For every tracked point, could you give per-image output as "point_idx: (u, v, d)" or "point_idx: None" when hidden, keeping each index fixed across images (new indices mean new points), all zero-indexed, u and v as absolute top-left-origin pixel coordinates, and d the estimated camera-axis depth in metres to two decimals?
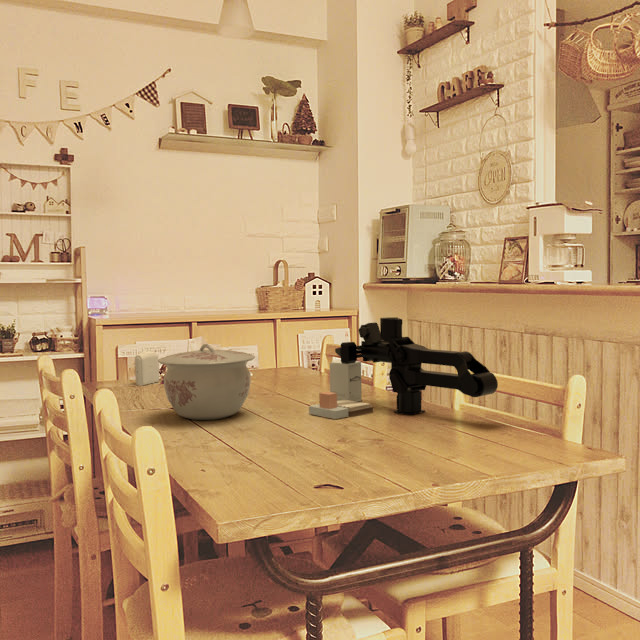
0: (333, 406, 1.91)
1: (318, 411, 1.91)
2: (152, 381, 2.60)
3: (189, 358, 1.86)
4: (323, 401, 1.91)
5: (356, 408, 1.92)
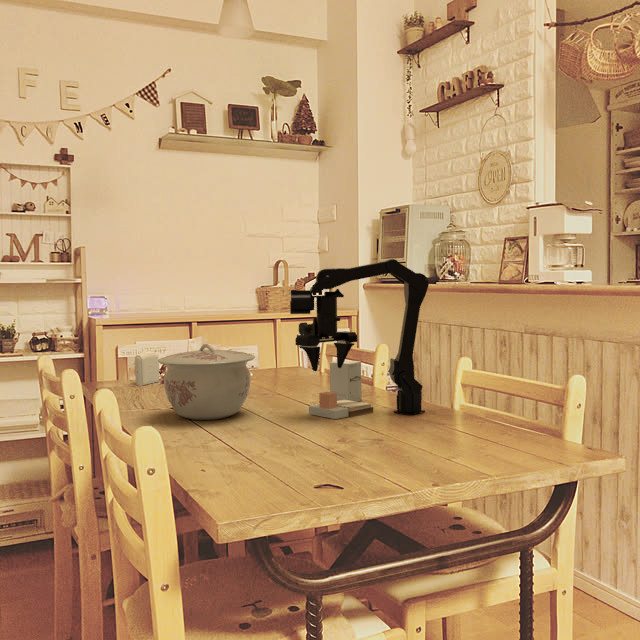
0: (333, 406, 1.91)
1: (318, 411, 1.91)
2: (152, 381, 2.60)
3: (189, 358, 1.86)
4: (323, 401, 1.91)
5: (356, 408, 1.92)
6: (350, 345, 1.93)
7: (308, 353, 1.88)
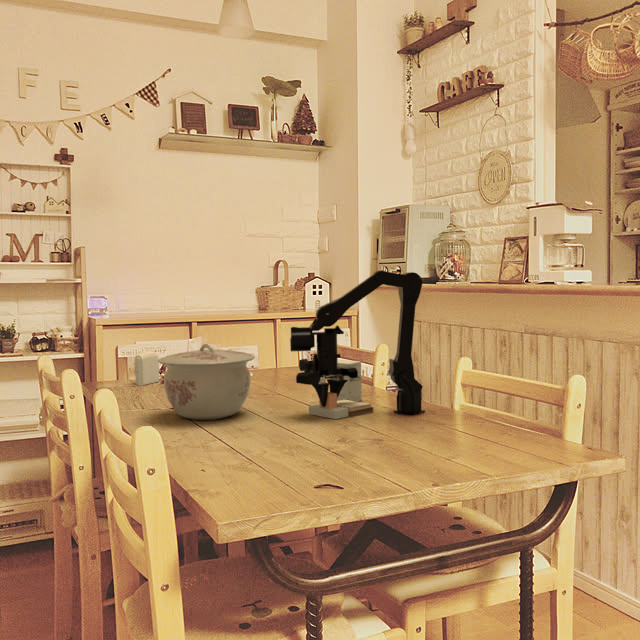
0: (333, 406, 1.91)
1: (318, 411, 1.91)
2: (152, 381, 2.60)
3: (189, 358, 1.86)
4: None
5: (356, 408, 1.92)
6: (343, 382, 1.92)
7: (317, 389, 1.90)
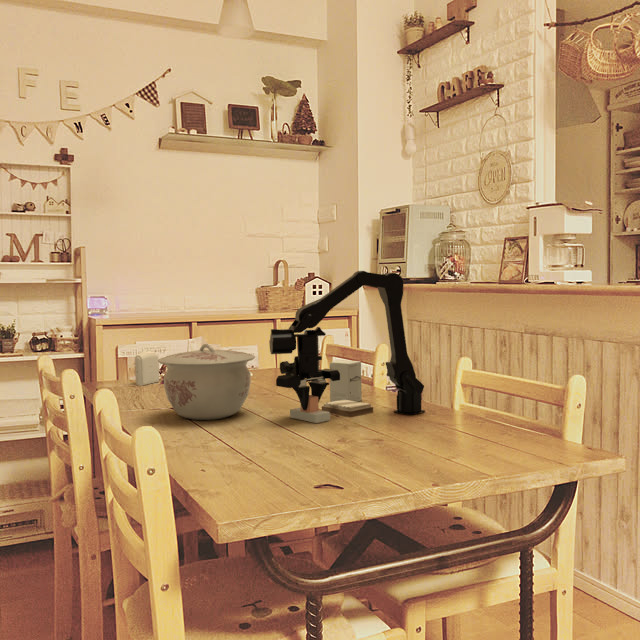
0: (314, 410, 1.86)
1: (300, 415, 1.87)
2: (152, 381, 2.60)
3: (189, 358, 1.86)
4: None
5: (356, 408, 1.92)
6: (325, 385, 1.87)
7: (298, 392, 1.86)
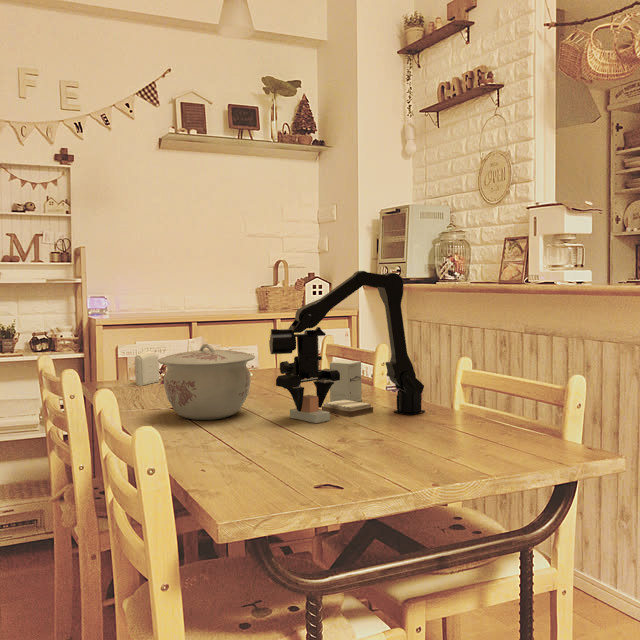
0: (314, 410, 1.86)
1: (299, 415, 1.87)
2: (152, 381, 2.60)
3: (189, 358, 1.86)
4: (304, 405, 1.86)
5: (356, 408, 1.92)
6: (330, 384, 1.88)
7: (292, 393, 1.84)
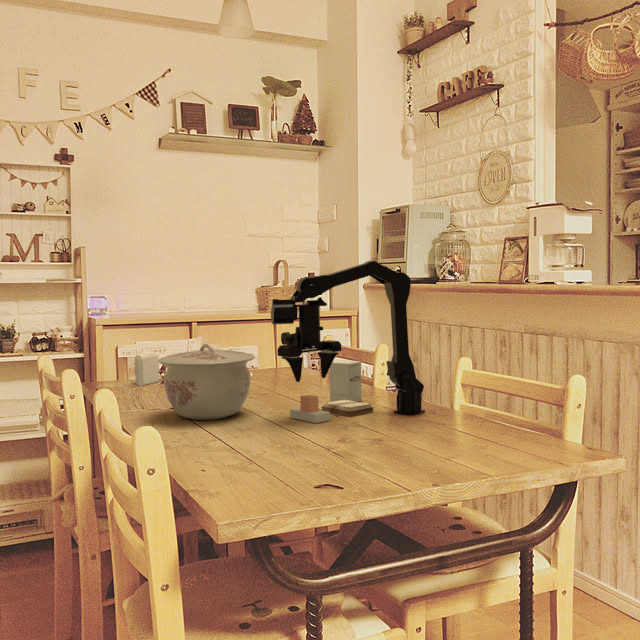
0: (314, 410, 1.86)
1: (299, 415, 1.87)
2: (152, 381, 2.60)
3: (189, 358, 1.86)
4: (304, 405, 1.86)
5: (356, 408, 1.92)
6: (334, 354, 1.89)
7: (291, 364, 1.84)
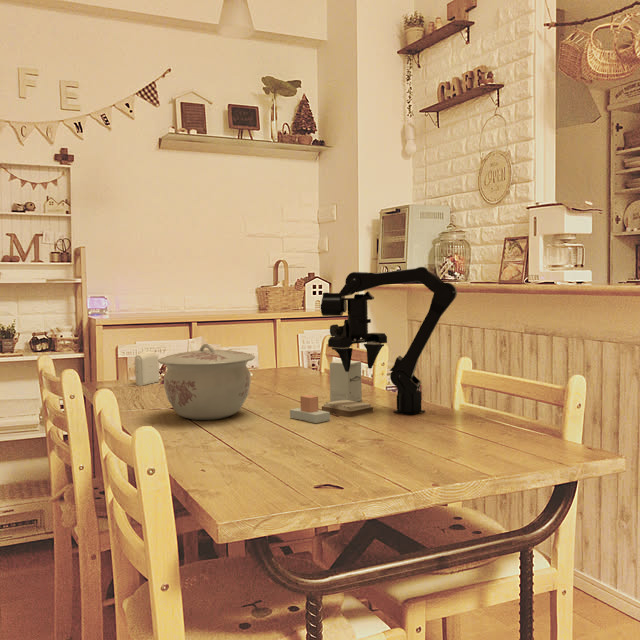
0: (314, 410, 1.86)
1: (299, 415, 1.87)
2: (152, 381, 2.60)
3: (189, 358, 1.86)
4: (304, 405, 1.86)
5: (356, 408, 1.92)
6: (380, 346, 1.98)
7: (340, 354, 1.93)
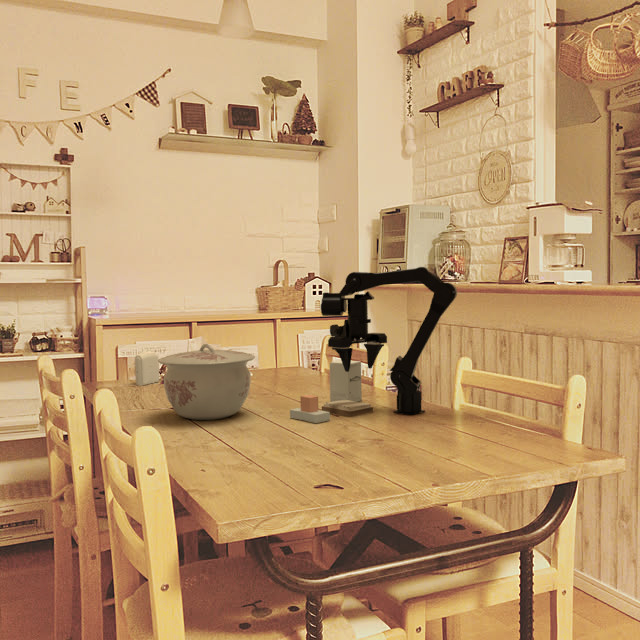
0: (314, 410, 1.86)
1: (299, 415, 1.87)
2: (152, 381, 2.60)
3: (189, 358, 1.86)
4: (304, 405, 1.86)
5: (356, 408, 1.92)
6: (380, 346, 1.98)
7: (340, 354, 1.93)
